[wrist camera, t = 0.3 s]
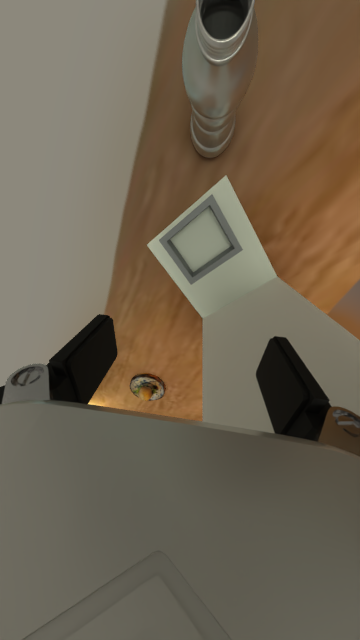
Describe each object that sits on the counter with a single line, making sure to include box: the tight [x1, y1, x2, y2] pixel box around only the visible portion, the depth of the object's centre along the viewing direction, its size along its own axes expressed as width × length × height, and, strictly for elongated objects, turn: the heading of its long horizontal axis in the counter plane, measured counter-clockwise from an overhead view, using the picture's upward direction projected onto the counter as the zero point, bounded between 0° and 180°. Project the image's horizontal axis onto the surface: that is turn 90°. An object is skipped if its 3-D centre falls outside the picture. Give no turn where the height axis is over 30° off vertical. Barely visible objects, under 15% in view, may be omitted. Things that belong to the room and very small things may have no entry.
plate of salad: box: [130, 373, 166, 401], centre depth 57 cm, size 12×12×8 cm
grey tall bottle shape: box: [182, 0, 258, 158], centre depth 19 cm, size 6×7×20 cm
